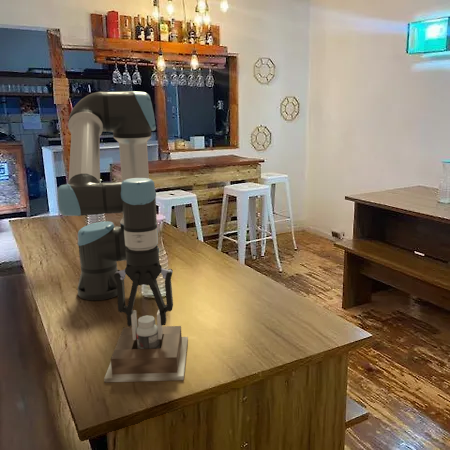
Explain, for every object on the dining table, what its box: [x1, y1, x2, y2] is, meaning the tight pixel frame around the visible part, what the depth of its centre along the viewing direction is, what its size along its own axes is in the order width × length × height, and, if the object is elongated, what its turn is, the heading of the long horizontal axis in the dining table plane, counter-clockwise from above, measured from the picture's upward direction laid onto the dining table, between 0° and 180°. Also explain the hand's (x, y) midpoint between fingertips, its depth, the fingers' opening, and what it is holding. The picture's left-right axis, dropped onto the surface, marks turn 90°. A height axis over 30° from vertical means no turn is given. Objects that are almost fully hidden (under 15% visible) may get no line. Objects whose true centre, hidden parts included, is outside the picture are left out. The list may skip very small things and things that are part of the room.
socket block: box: [103, 325, 189, 383], centre depth 111 cm, size 18×18×5 cm
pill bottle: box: [136, 314, 160, 349], centre depth 110 cm, size 5×5×10 cm
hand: (147, 336), depth 110 cm, fingers closed on pill bottle, 5 cm apart
